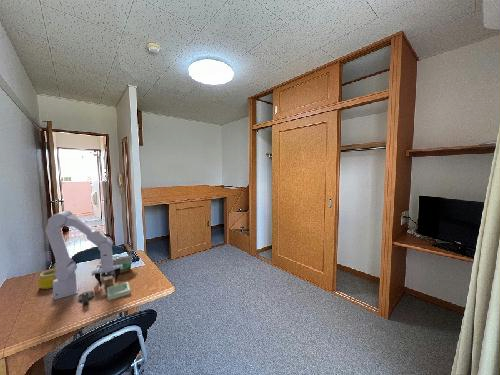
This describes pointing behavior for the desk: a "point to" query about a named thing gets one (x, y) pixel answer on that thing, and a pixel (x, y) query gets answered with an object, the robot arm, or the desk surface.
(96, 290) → the post
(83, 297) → the crank
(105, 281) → the block
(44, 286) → the mug
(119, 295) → the tray
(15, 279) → the desk surface
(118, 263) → the food container
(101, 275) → the giant panda
